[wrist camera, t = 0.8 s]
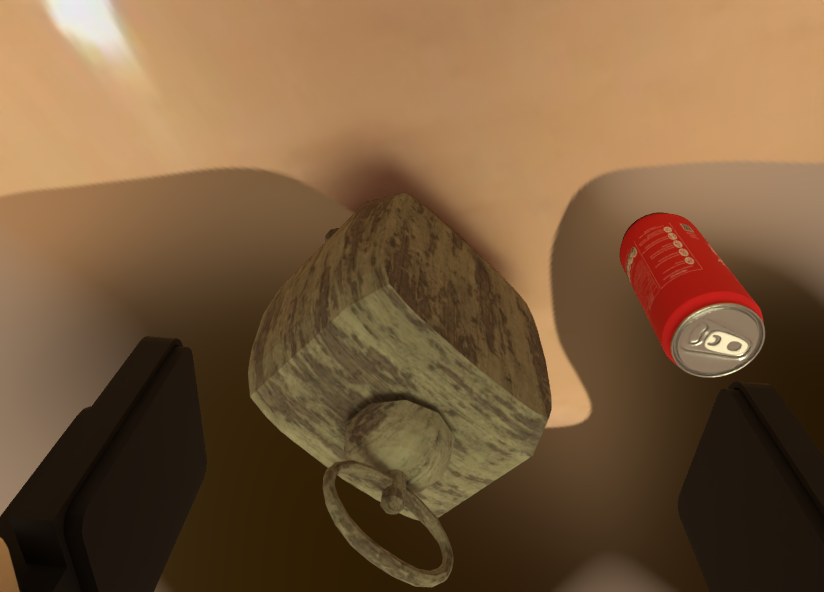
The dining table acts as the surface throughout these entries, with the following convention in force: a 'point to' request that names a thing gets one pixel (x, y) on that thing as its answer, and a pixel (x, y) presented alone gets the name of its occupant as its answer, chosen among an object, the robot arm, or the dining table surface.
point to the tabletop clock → (402, 371)
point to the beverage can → (691, 297)
